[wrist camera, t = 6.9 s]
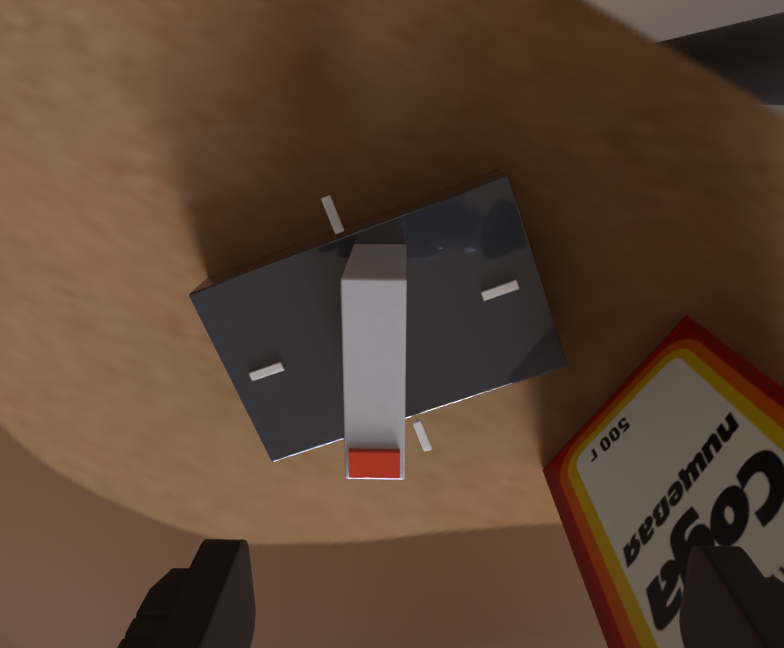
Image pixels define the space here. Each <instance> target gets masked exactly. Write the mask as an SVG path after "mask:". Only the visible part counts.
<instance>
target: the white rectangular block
mask: <svg viewBox="0 0 784 648" xmlns="http://www.w3.org/2000/svg"><path fill="white" fill-rule="evenodd" d="M406 305H407V246H406V245H405V244H354V245H353V248H352V251H351V253H350V256H349V259H348V261H347V264H346V267H345V270H344V272H343V275H342V278H341V319H342V360H343V400H344V441H345V476H346V478H348V479H404V477H405V395H406Z"/></svg>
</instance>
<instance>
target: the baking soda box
mask: <svg viewBox="0 0 784 648" xmlns="http://www.w3.org/2000/svg"><path fill="white" fill-rule="evenodd" d="M543 473H544V475H545V478H546V481H547V484H548V486H549V489H550V492H551V494H552V497H553V500H554V502H555V505H556V508H557V511H558V513H559V516H560V519H561V521H562V524H563V527H564V530H565V532H566V535H567V538H568V540H569V543H570V546H571V548H572V551H573V554H574V557H575V559H576V562H577V565H578V567H579V570H580V573H581V576H582V578H583V581H584V584H585V586H586V589H587V592H588V594H589V597H590V600H591V602H592V605H593V608H594V611H595V613H596V616H597V618H598V621H599V624H600V627H601V630H602V632H603V635H604V638H605V640H606V643H607V646H608V648H684V646H683V642H682V638H681V633H680V625H679V614H680V607H681V601H682V595H683V589H684V583H685V577H686V571H687V565H688V559H689V554H690V551H691V549H692V548H693V547H694V546H739V547H741V548H742V549H744V550H745V552H746V553H747V554H748V555H749V557H750V558H751V560H752V561H753V562H754V564H755V565H756V566H757V568H758V569H759V570H760V572H761V573H762V575H763V576H764V577H777V578H778V579H779V580H781V581H782V582H783V583H784V389H783V388H782V387H781V386H779V385H778V384H777V383H775V382H774V381H773V380H771V379H770V378H769V377H767V376H766V375H765V374H763V373H762V372H761V371H760V370H758V369H757V368H756V367H754V366H753V365H752V364H750V363H749V362H748V361H746V360H745V359H744V358H742V357H741V356H740V355H738V354H737V353H736V352H735V351H733V350H732V349H731V348H729V347H728V346H727V345H725V344H724V343H723V342H721V341H720V340H719V339H717V338H716V337H715V336H713V335H712V334H711V333H710V332H708V331H707V330H706V329H704V328H703V327H702V326H700V325H699V324H698V323H696V322H695V321H694V320H692V319H691V318H690V317H688V316H686V317H685V318H684V319H683V320H682V321H681V322H680V323H679V324H678V325H677V326H676V327H675V329H674V330H673V331H672V332H671V333H670V334H669V335H668V336H667V337H666V338H665V339H664V340H663V341H662V342H661V344H660V345H659V346H658V347H657V348H656V349H655V350H654V351H653V352H652V353H651V354H650V355H649V356H648V358H647V359H646V360H645V361H644V362H643V363H642V364H641V365H640V366H639V367H638V368H637V369H636V370H635V371H634V373H633V374H632V375H631V376H630V377H629V378H628V379H627V380H626V381H625V382H624V383H623V384H622V385H621V387H620V388H619V389H618V390H617V391H616V392H615V393H614V394H613V395H612V396H611V397H610V398H609V399H608V400H607V402H606V403H605V404H604V405H603V406H602V407H601V408H600V409H599V410H598V411H597V412H596V413H595V414H594V415H593V417H592V418H591V419H590V420H589V421H588V422H587V423H586V424H585V425H584V426H583V427H582V428H581V429H580V431H579V432H578V433H577V434H576V435H575V436H574V437H573V438H572V439H571V440H570V441H569V442H568V443H567V444H566V446H565V447H564V448H563V449H562V450H561V451H560V452H559V453H558V454H557V455H556V456H555V457H554V458H553V460H552V461H551V462H550V463H549V464H548V465H547V466H546V467H545V468H544V469H543Z"/></svg>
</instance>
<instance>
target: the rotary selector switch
mask: <svg viewBox="0 0 784 648" xmlns="http://www.w3.org/2000/svg"><path fill="white" fill-rule="evenodd" d="M321 200H322V203H323V205H324V208H325V210H326V213H327V215H328V218H329V220H330V222H331V225H332V227H333V231H331V232H328V233H325V234H322V235H320V236H317V237H314V238H312V239H309V240H306V241H304V242H301V243H298V244H296V245H293V246H290V247H288V248H285V249H282V250H280V251H277V252H274V253H272V254H269V255H266V256H264V257H261V258H258V259H256V260H253V261H250V262H248V263H245V264H242V265H240V266H237V267H234V268H232V269H229V270H226V271H224V272H221V273H218V274H216V275H213V276H210V277H208V278H207V279H206V280H204V281H203V282H202V283H201V284H200V285H199V286H198V287H196V288H195V289H194V290H193V291H192V292H191V293H190V294H189V296H190V298H191V300H192V302H193V304H194V306H195V308H196V310H197V312H198V314H199V316H200V318H201V320H202V322H203V324H204V326H205V328H206V330H207V333H208V335H209V337H210V339H211V341H212V343H213V345H214V347H215V349H216V351H217V353H218V355H219V357H220V359H221V361H222V363H223V365H224V367H225V369H226V371H227V373H228V375H229V377H230V379H231V381H232V383H233V385H234V387H235V389H236V391H237V393H238V395H239V397H240V399H241V401H242V403H243V405H244V407H245V409H246V411H247V413H248V415H249V417H250V419H251V421H252V423H253V425H254V427H255V429H256V431H257V433H258V435H259V437H260V439H261V441H262V443H263V445H264V447H265V449H266V451H267V453H268V455H269V457H270V459H271V461H272V462H274V461H277V460H280V459H283V458H286V457H289V456H292V455H295V454H299V453H302V452H305V451H308V450H311V449H314V448H317V447H320V446H323V445H326V444H329V443H332V442H335V441H338V440H342V439H344V400H343V360H342V319H341V278H342V275H343V272H344V270H345V267H346V264H347V261H348V259H349V256H350V253H351V251H352V248H353V245H354V244H405V245H406V246H407V305H406V395H405V419H406V418H409V417H412V416H415V415H418V414H421V413H424V412H428V411H431V410H434V409H437V408H440V407H443V406H446V405H449V404H452V403H455V402H458V401H461V400H464V399H467V398H471V397H474V396H477V395H480V394H483V393H486V392H489V391H492V390H495V389H498V388H501V387H504V386H507V385H510V384H514V383H517V382H520V381H523V380H526V379H529V378H532V377H535V376H538V375H541V374H544V373H547V372H550V371H553V370H557V369H560V368H563V367H566V366H567V362H566V359H565V355H564V352H563V349H562V346H561V342H560V339H559V336H558V333H557V329H556V326H555V323H554V320H553V317H552V313H551V310H550V307H549V304H548V300H547V297H546V294H545V291H544V288H543V284H542V281H541V278H540V275H539V271H538V268H537V265H536V262H535V258H534V255H533V252H532V249H531V246H530V242H529V239H528V236H527V233H526V229H525V226H524V223H523V220H522V217H521V213H520V210H519V207H518V204H517V200H516V197H515V194H514V191H513V187H512V184H511V181H510V178H509V176H508V175H507V174H505V173H504V172H502V171H501V170H500V169H496V170H493V171H491V172H488V173H485V174H483V175H480V176H477V177H475V178H472V179H469V180H467V181H464V182H461V183H459V184H456V185H453V186H451V187H448V188H445V189H443V190H440V191H437V192H435V193H432V194H429V195H427V196H424V197H421V198H419V199H416V200H413V201H411V202H408V203H405V204H403V205H400V206H397V207H395V208H392V209H389V210H387V211H384V212H381V213H379V214H376V215H373V216H371V217H368V218H365V219H363V220H360V221H357V222H355V223H352V224H349V225H347V226H344V227H343V225H342V223H341V220H340V218H339V215H338V213H337V210H336V208H335V205H334V203H333V200H332V198H331V195H328V196H325V197H323V198H321ZM413 426H414V428H415V431H416V433H417V436H418V438H419V440H420V443H421V445H422V448H423V450H424V452H425V451H428V450H431V449H432V446H431V444H430V441H429V439H428V436H427V434H426V431H425V429H424V426H423V424H422V421H421V420H418V421H415V422H413Z"/></svg>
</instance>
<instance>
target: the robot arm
mask: <svg viewBox="0 0 784 648" xmlns="http://www.w3.org/2000/svg"><path fill="white" fill-rule="evenodd" d="M679 625H680V633H681V638H682V642H683V646H684V648H784V583H783V582H782V581H781V580H779V579H778V578H777V577H764V576H763V575H762V573H761V572H760V570H759V569H758V568H757V566H756V565H755V564H754V562H753V561H752V560H751V558H750V557H749V555H748V554H747V553H746V552H745V550H744V549H742V548H741V547H739V546H694V547H693V548H692V549H691V551H690V554H689V559H688V565H687V571H686V577H685V583H684V589H683V595H682V601H681V607H680V614H679ZM254 627H255V599H254V590H253V582H252V572H251V563H250V554H249V547H248V543H247V541H246V540H228V539H206V540H204V541H203V542H202V544H201V545H200V547H199V550H198V552H197V553H196V555H195V558H194V560H193V562H192V564H191V566H190V568H189V569H185V568H184V569H183V568H173V569H171V570H170V571H169V572H168V573H167V574H166V575H165V576H164V577H163V578H162V579H160V580H159V581H158V582H157V583H156V584H155V585H154V586H153V587H152V588H150V590H149V592H148V594H147V595H146V597H145V599H144V601H143V602H142V604H141V606H140V608H139V610H138V612H137V615H136V618H134V619H133V621H132V623H131V624H130V626H129V628H128V630H127V632H126V635H125V639H122V641H121V642H120V644H119V646H118V648H250V646H251V643H252V639H253V634H254Z"/></svg>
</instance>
